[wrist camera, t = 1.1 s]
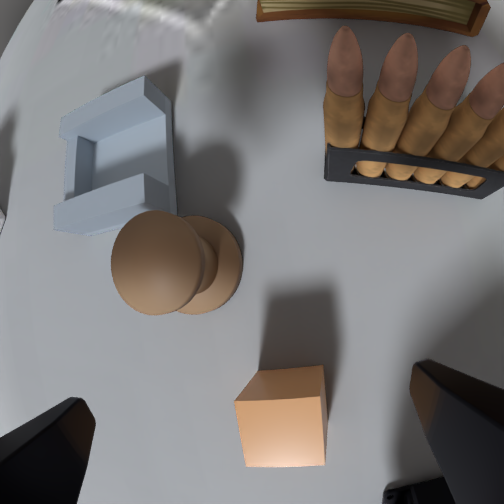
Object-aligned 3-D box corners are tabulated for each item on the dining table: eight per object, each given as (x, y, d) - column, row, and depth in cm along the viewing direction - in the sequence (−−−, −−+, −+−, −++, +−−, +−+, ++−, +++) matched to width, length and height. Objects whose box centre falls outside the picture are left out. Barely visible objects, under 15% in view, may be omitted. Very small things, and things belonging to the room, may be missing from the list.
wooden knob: (248, 307, 19) (217, 321, 13) (162, 315, 20) (111, 327, 15) (236, 209, 19) (201, 187, 14) (152, 227, 20) (101, 214, 15)
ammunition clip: (324, 180, 18) (309, 49, 6) (325, 152, 18) (309, 6, 6) (482, 199, 15) (605, 129, 4) (480, 172, 15) (590, 84, 4)
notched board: (177, 214, 20) (144, 202, 16) (90, 235, 22) (53, 230, 18) (171, 101, 21) (144, 75, 17) (92, 134, 23) (61, 117, 19)
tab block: (327, 421, 17) (324, 464, 12) (266, 425, 18) (246, 466, 13) (323, 364, 17) (320, 396, 12) (258, 370, 18) (234, 401, 13)
